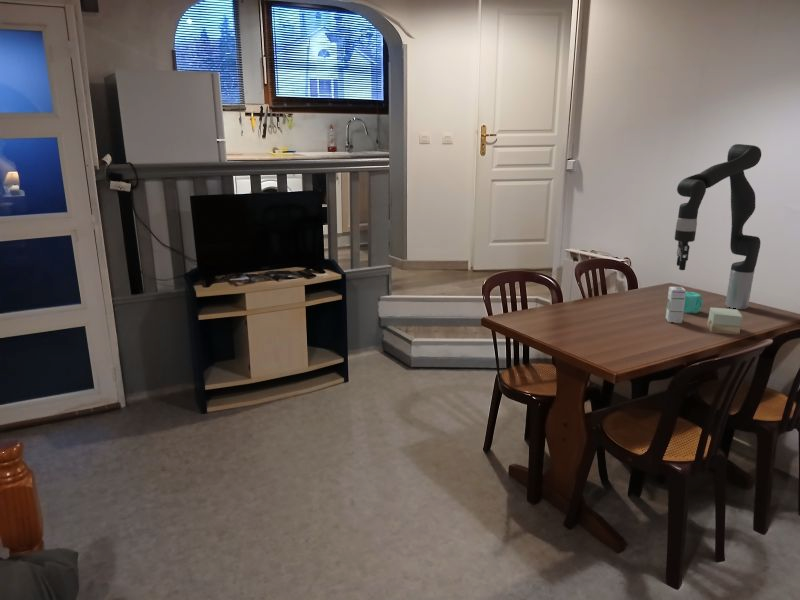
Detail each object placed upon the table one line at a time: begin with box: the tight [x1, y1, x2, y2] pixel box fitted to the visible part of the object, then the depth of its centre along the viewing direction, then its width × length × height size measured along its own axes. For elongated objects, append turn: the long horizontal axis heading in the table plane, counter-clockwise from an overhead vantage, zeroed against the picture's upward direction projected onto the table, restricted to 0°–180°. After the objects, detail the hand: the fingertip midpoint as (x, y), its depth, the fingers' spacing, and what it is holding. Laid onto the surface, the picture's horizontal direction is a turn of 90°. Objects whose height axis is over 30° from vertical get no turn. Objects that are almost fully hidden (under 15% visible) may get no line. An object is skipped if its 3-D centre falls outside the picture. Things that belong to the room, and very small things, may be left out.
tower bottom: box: [706, 316, 742, 336], centre depth 238 cm, size 10×10×4 cm
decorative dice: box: [683, 291, 704, 314], centre depth 262 cm, size 8×8×8 cm
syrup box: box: [665, 286, 687, 324], centre depth 247 cm, size 6×6×14 cm
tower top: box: [708, 307, 743, 326], centre depth 237 cm, size 10×10×4 cm
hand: (680, 267), depth 243 cm, fingers open, 8 cm apart
